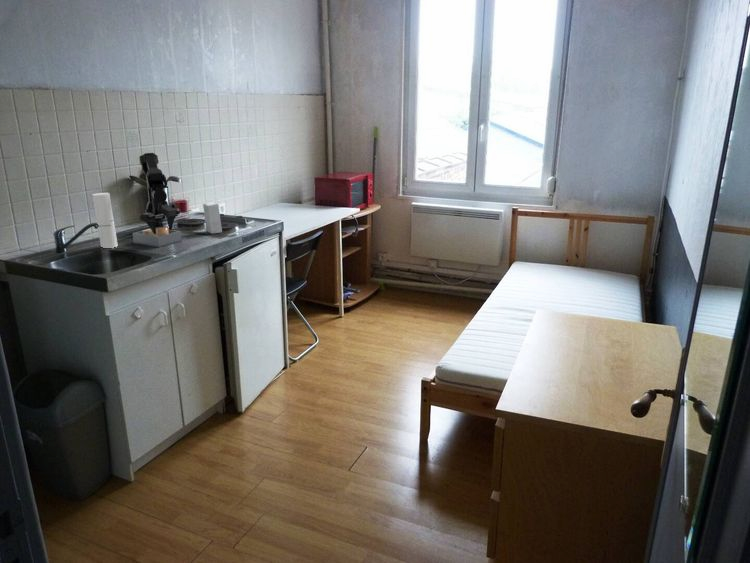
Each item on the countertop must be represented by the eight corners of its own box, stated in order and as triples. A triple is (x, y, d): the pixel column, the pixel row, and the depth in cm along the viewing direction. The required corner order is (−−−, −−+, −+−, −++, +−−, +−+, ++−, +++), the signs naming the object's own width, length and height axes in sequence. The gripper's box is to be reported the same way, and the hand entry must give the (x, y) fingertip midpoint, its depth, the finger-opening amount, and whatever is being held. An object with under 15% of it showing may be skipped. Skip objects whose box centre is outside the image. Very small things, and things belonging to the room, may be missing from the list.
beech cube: (143, 240, 274) (142, 230, 273) (152, 238, 278) (151, 228, 277) (150, 241, 272) (149, 231, 270) (159, 239, 276) (157, 229, 274)
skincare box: (222, 232, 291) (219, 204, 287) (210, 234, 288) (207, 205, 284) (216, 229, 298) (214, 201, 294) (205, 231, 295) (202, 202, 290)
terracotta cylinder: (156, 242, 270) (154, 228, 268) (164, 240, 274) (163, 226, 272) (163, 243, 268) (161, 229, 265) (172, 241, 272) (170, 227, 270)
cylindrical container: (121, 245, 268) (112, 193, 260) (109, 249, 261) (101, 195, 253) (109, 244, 270) (100, 192, 262) (97, 248, 263) (88, 194, 256)
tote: (133, 243, 272) (132, 233, 270) (156, 237, 283) (155, 227, 281) (158, 247, 263) (157, 237, 262) (181, 241, 275) (180, 231, 273)
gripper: (153, 203, 253) (158, 237, 258) (186, 197, 268) (189, 229, 273) (137, 201, 258) (142, 235, 263) (169, 195, 274) (173, 227, 278)
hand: (162, 231), depth 269 cm, fingers open, 9 cm apart
